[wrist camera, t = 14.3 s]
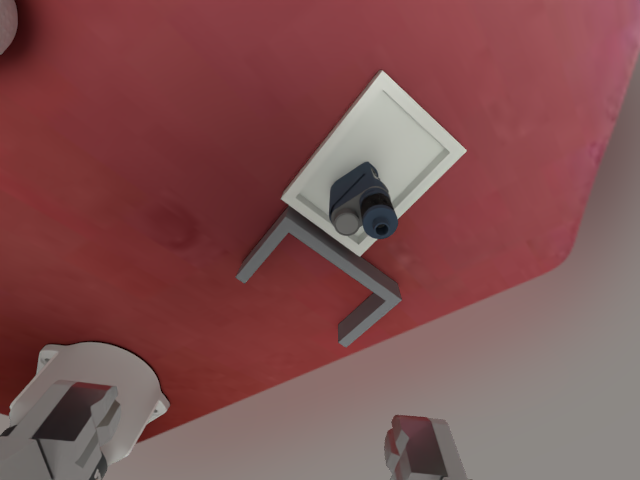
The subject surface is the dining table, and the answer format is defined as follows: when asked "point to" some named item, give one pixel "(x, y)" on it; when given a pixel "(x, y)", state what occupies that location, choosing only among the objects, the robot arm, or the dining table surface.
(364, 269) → the bay
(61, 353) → the robot arm
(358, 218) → the vaping device
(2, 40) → the mug
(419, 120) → the tray
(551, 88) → the dining table surface
